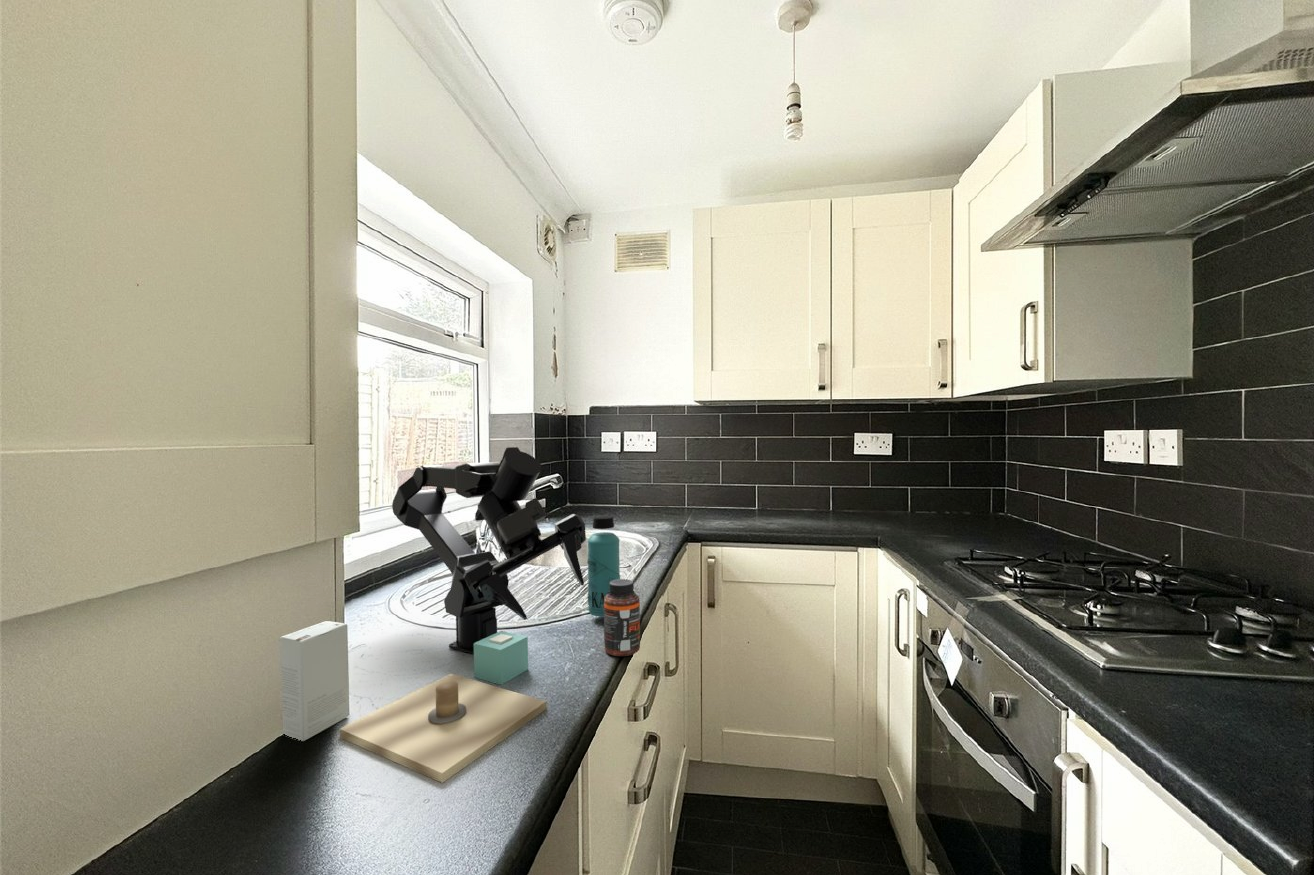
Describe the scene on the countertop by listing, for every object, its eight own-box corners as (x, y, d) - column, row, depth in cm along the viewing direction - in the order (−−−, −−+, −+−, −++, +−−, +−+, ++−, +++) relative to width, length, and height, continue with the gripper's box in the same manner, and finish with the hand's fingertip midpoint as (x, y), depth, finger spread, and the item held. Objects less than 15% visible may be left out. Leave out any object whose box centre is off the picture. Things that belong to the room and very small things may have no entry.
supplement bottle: (635, 659, 81) (634, 587, 81) (599, 657, 82) (598, 586, 82) (644, 644, 87) (642, 577, 87) (610, 642, 88) (609, 576, 88)
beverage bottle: (603, 611, 104) (601, 512, 104) (628, 617, 100) (626, 515, 100) (580, 620, 99) (578, 517, 99) (606, 627, 95) (604, 519, 95)
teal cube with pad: (474, 677, 76) (473, 641, 76) (501, 662, 81) (501, 628, 81) (501, 684, 73) (500, 647, 73) (528, 669, 78) (527, 634, 78)
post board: (339, 737, 61) (339, 699, 61) (451, 680, 75) (450, 649, 75) (442, 783, 52) (441, 738, 52) (546, 709, 66) (545, 674, 66)
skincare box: (327, 711, 67) (326, 618, 67) (351, 717, 65) (350, 622, 65) (277, 737, 61) (276, 635, 61) (303, 744, 60) (301, 640, 60)
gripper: (436, 523, 71) (483, 615, 64) (556, 466, 79) (610, 542, 72) (454, 560, 80) (497, 645, 72) (561, 505, 88) (609, 576, 80)
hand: (555, 600), depth 74 cm, fingers open, 9 cm apart
